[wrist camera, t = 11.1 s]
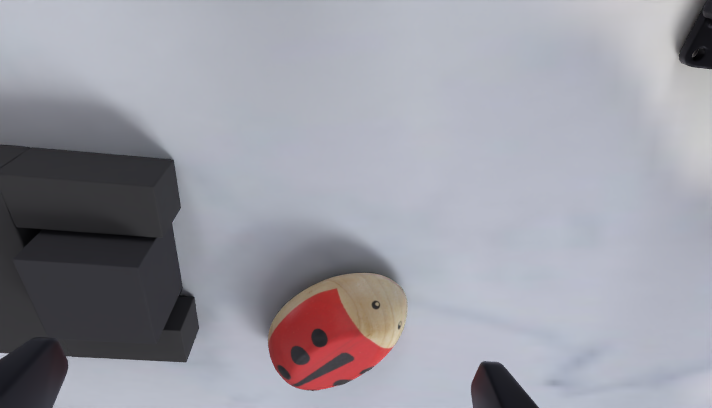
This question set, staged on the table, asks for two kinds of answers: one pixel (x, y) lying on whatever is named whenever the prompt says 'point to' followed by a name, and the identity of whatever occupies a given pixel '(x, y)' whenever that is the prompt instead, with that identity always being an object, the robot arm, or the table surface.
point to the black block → (101, 284)
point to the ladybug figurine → (336, 330)
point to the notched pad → (85, 214)
